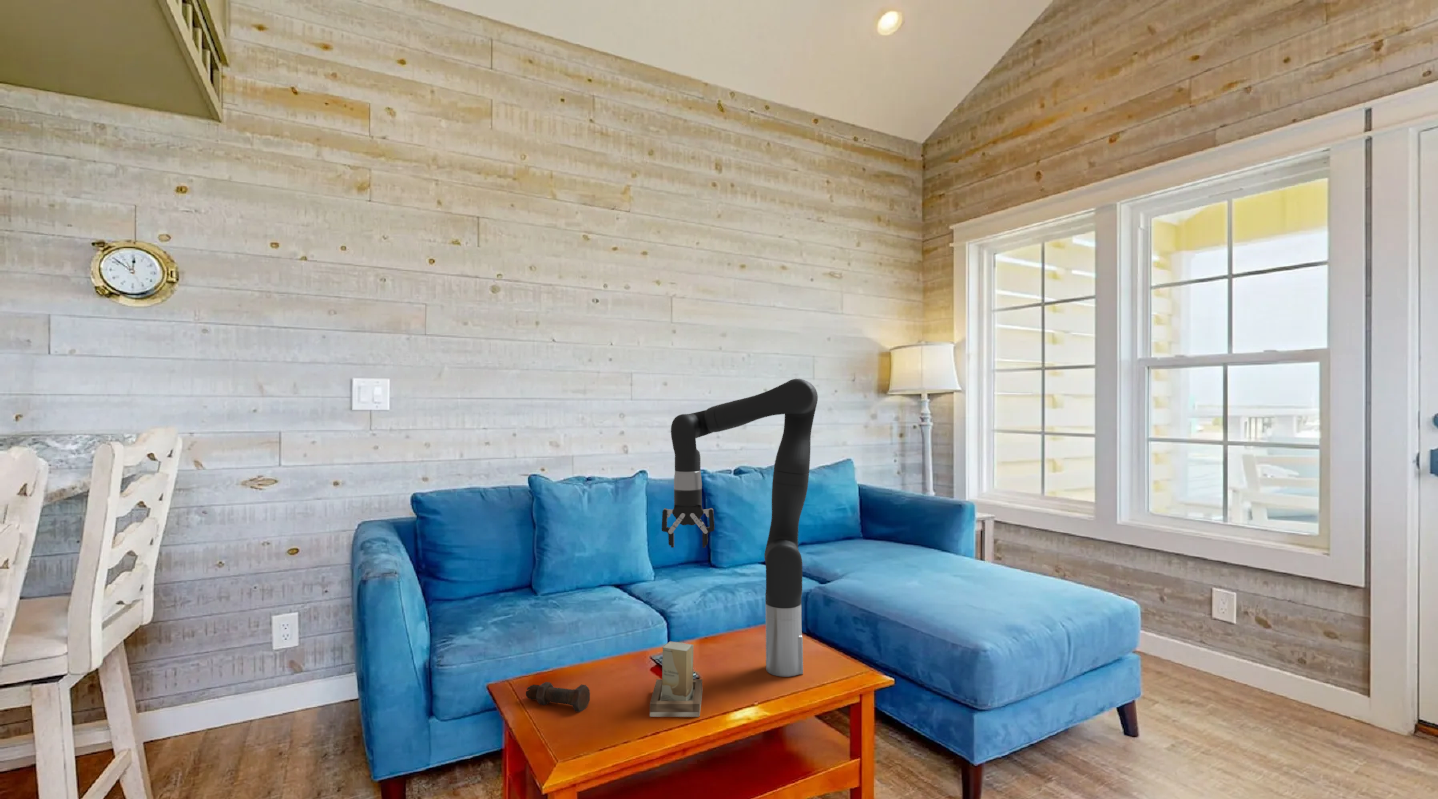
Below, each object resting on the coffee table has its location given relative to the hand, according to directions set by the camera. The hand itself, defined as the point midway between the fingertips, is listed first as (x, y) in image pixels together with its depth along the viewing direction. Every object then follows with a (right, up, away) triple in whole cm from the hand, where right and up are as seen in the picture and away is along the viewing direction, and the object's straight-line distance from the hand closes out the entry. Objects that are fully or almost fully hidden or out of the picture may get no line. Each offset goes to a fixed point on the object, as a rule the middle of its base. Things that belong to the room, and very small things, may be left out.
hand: (688, 547), depth 179 cm
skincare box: (-1, -29, -27) cm, 40 cm away
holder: (-1, -30, -27) cm, 40 cm away
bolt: (-29, -31, -27) cm, 50 cm away
